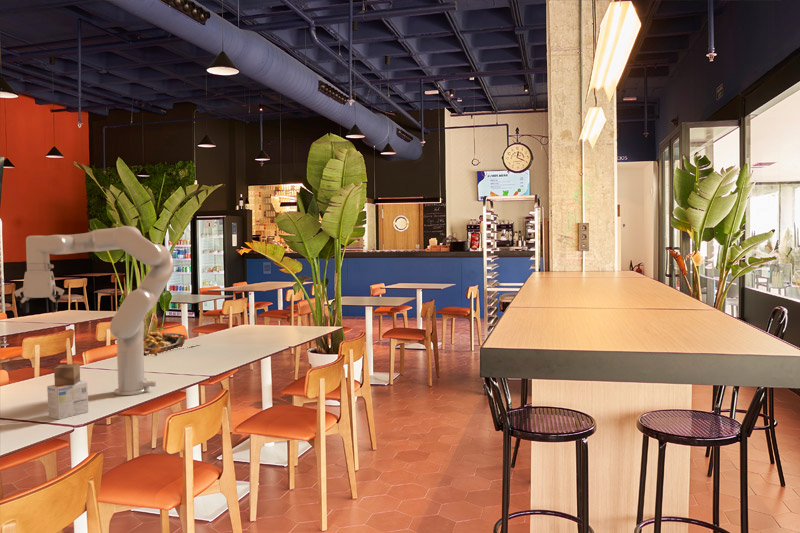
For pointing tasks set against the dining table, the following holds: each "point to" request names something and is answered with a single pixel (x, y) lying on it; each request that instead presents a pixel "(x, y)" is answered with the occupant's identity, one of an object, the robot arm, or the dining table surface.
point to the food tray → (161, 342)
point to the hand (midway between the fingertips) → (40, 312)
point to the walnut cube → (67, 374)
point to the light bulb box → (67, 400)
